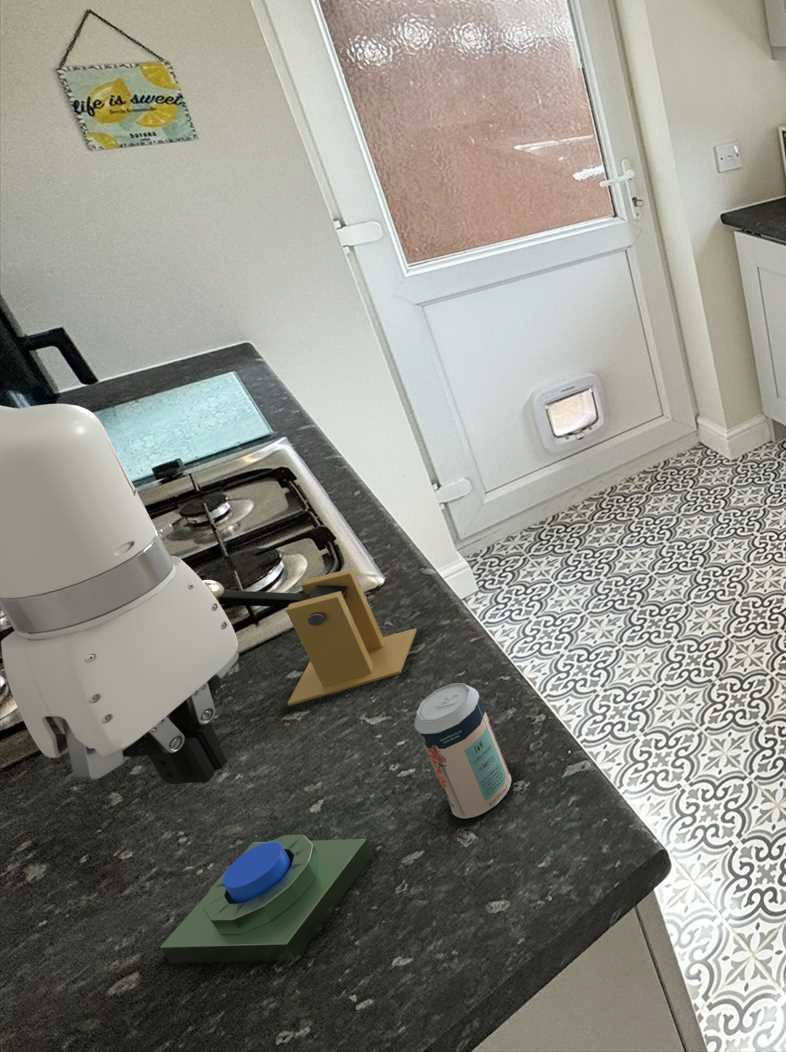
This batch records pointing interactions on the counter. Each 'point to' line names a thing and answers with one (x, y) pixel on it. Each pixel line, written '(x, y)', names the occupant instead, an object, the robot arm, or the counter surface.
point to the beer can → (463, 749)
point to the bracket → (343, 639)
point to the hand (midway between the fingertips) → (198, 772)
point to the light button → (256, 871)
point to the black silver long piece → (267, 595)
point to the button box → (271, 907)
